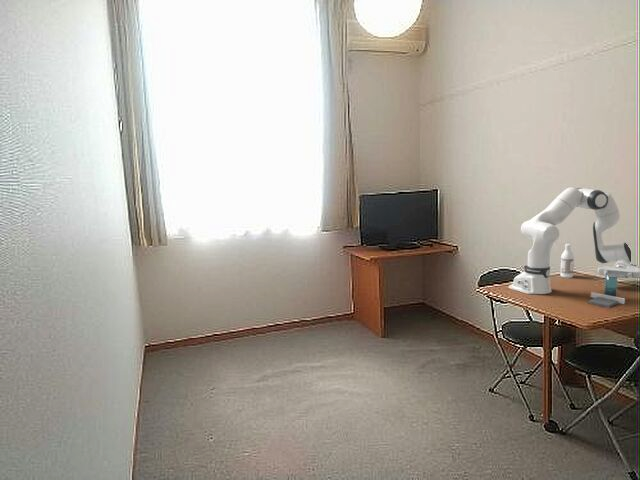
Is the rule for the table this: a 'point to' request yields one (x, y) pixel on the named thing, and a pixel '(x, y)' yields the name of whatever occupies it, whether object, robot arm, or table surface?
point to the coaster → (603, 302)
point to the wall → (608, 297)
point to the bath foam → (567, 262)
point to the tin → (611, 284)
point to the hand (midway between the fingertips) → (616, 275)
